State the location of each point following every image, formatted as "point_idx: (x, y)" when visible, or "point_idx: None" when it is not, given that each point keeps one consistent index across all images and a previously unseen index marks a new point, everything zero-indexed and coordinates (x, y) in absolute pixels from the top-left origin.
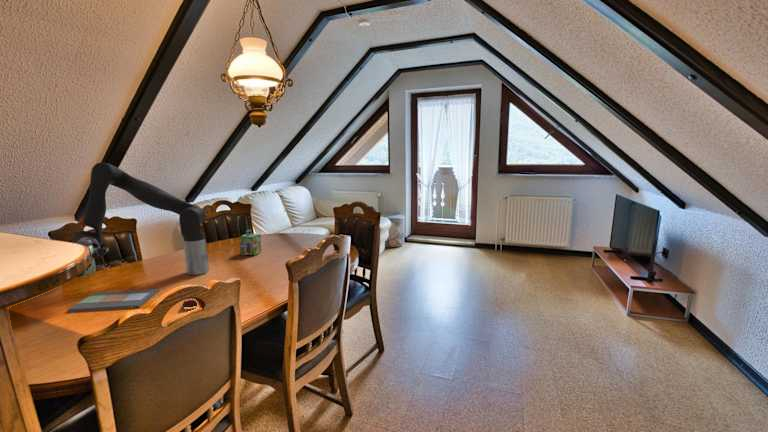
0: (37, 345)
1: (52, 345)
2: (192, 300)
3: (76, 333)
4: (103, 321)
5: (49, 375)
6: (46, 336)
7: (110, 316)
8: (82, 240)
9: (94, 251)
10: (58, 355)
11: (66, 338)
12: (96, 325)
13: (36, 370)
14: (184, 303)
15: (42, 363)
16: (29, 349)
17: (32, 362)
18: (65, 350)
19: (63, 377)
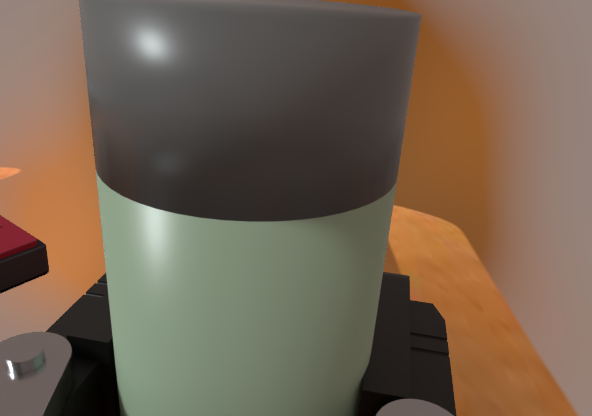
0: (506, 352)
1: (456, 322)
2: (17, 229)
3: None
4: None
5: (436, 224)
6: (496, 398)
7: None
8: (296, 7)
9: (92, 324)
10: (430, 270)
11: None
12: None
13: (466, 249)
14: (41, 242)
15: (461, 262)
16: (524, 343)
17: (487, 278)
18: (416, 279)
19: (410, 209)
